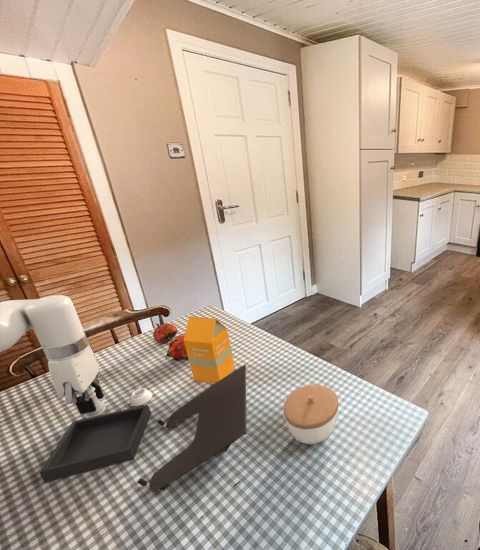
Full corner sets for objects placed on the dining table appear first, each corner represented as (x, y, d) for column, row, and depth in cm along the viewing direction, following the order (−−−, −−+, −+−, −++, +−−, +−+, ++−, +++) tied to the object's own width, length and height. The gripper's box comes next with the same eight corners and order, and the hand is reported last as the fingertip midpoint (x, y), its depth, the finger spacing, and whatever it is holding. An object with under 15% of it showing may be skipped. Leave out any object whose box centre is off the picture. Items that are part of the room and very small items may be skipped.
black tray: (44, 483, 62) (38, 472, 61) (77, 430, 74) (73, 421, 73) (133, 459, 67) (129, 449, 66) (151, 413, 79) (148, 404, 78)
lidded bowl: (332, 405, 82) (330, 372, 78) (346, 444, 71) (344, 408, 67) (284, 419, 77) (279, 385, 73) (291, 463, 66) (286, 425, 62)
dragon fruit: (208, 350, 107) (174, 373, 99) (192, 333, 108) (157, 354, 100) (210, 339, 102) (174, 363, 93) (193, 322, 102) (156, 343, 94)
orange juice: (220, 384, 89) (207, 326, 82) (193, 381, 90) (178, 323, 83) (235, 367, 96) (224, 312, 89) (210, 364, 98) (197, 309, 90)
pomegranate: (184, 343, 112) (171, 322, 115) (183, 335, 107) (169, 313, 109) (162, 354, 108) (149, 332, 110) (159, 346, 102) (146, 323, 105)
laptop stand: (185, 429, 81) (160, 410, 77) (260, 380, 84) (240, 359, 80) (166, 518, 61) (130, 500, 57) (265, 450, 64) (239, 427, 60)
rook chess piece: (109, 410, 80) (99, 386, 77) (88, 422, 77) (77, 397, 74) (102, 403, 82) (92, 380, 79) (82, 414, 79) (70, 390, 76)
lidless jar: (156, 396, 85) (144, 391, 86) (154, 387, 84) (141, 383, 85) (139, 409, 80) (126, 404, 82) (136, 400, 79) (123, 396, 81)
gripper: (66, 331, 78) (90, 387, 85) (23, 371, 63) (56, 435, 70) (101, 326, 80) (122, 381, 87) (68, 364, 66) (96, 426, 72)
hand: (92, 404), depth 78 cm, fingers open, 3 cm apart
